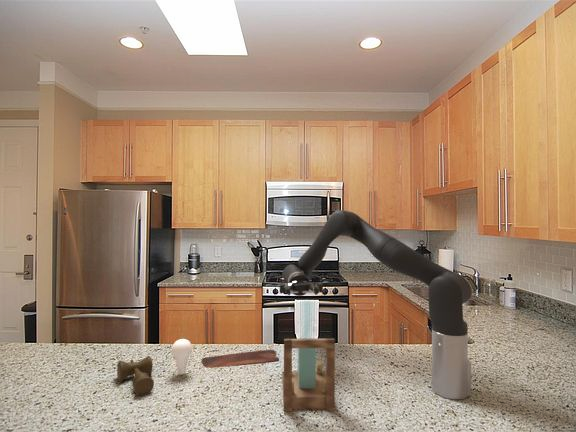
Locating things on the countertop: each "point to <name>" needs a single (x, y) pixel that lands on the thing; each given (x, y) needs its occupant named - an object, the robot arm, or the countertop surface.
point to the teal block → (307, 367)
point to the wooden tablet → (240, 359)
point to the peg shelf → (324, 380)
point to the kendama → (137, 374)
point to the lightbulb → (181, 354)
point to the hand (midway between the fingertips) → (302, 291)
